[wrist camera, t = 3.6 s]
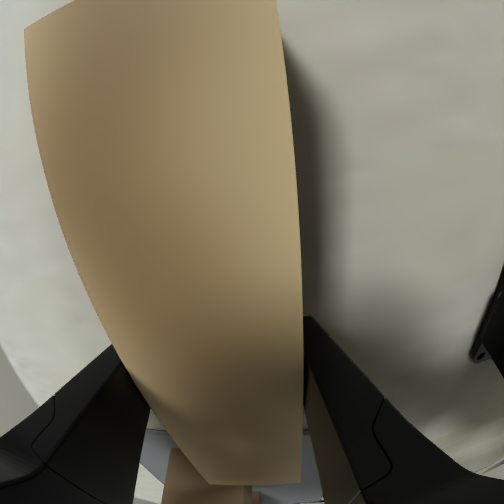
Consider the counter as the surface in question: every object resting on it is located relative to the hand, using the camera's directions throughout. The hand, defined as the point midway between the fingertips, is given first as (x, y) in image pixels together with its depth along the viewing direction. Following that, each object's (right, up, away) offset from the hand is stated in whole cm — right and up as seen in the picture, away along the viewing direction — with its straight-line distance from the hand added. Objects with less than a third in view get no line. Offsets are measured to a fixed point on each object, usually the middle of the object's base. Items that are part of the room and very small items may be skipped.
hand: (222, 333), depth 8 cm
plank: (0, +1, +1) cm, 2 cm away
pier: (-2, -11, +8) cm, 14 cm away
